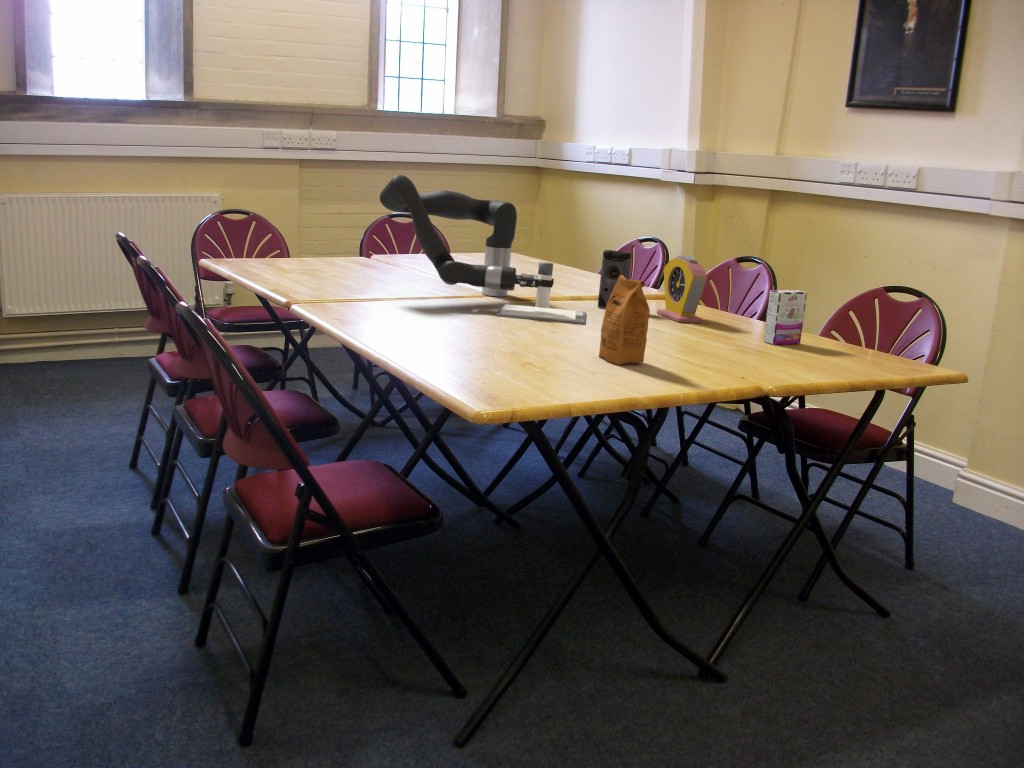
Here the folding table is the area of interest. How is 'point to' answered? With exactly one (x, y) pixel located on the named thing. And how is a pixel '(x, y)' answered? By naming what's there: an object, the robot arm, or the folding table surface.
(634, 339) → the coffee package
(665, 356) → the folding table surface
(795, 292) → the candy bar box
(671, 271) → the yellow desk clock
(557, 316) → the clipboard
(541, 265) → the marker
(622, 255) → the electronic device
